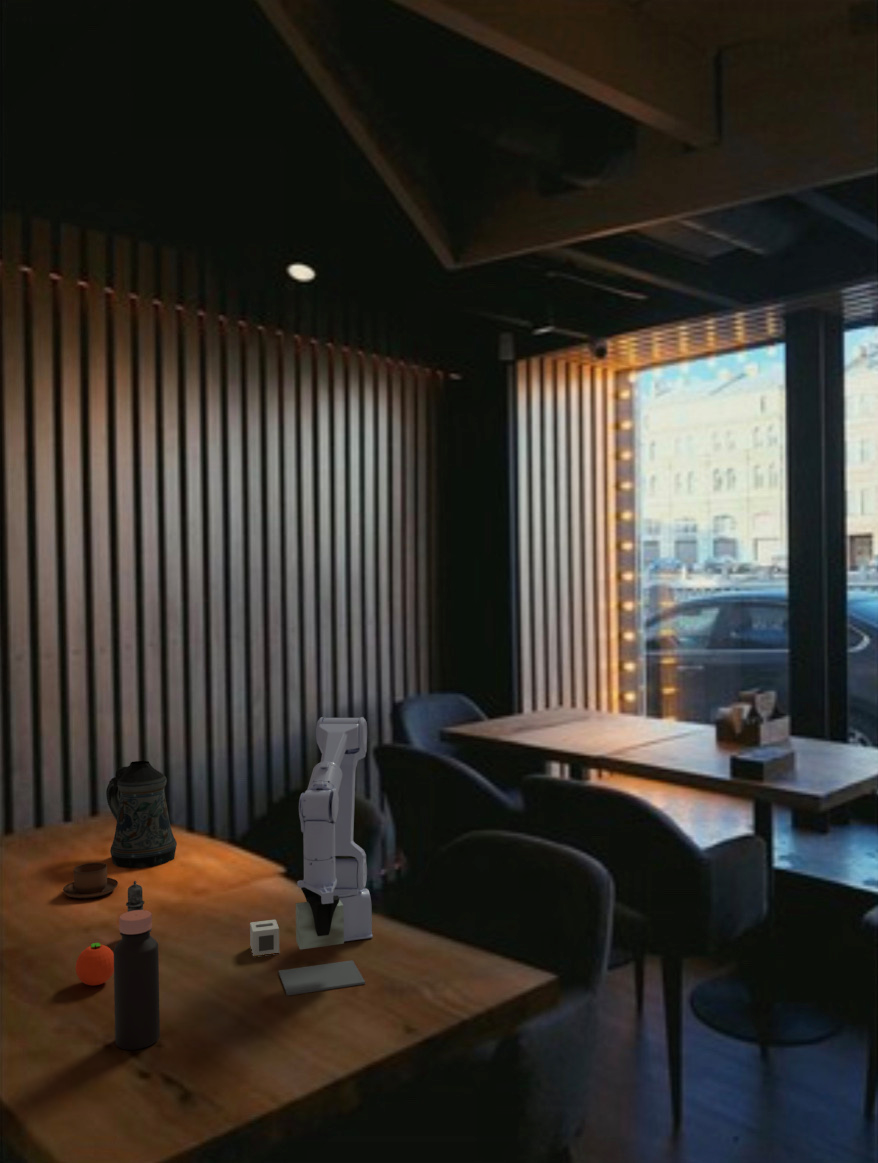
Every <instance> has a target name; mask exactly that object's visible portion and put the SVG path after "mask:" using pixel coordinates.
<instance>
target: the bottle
mask: <svg viewBox="0 0 878 1163" xmlns="http://www.w3.org/2000/svg"><path fill="white" fill-rule="evenodd" d="M118 917H119V919H118V920H119V922H118V925H119V934H120V937H121V939H120V941H119V942H118V943H117V944H116V945H115V947H114V949H113V953H114V973H113V989H114V991H113V992H114V994H113V995H114V1043H115V1044H116V1046H117V1047H118V1048H120V1049H123V1050H126V1051H135V1050H141V1049H145V1048H148V1047H150V1046H152V1045H154V1044H155V1043H157V1041H158V1040H159V1038H160V1032H161V1030H160V1026H161V1025H160V1021H161V1020H160V1016H161V1015H160V967H159V966H160V965H159V964H160V962H159V960H160V959H159V955H160V954H159V943H158V941H157V940H156V939H155V938H154V937H153V936H152V935H151V932H152V927H153V913H152V912H151V911H149V910H146V909H145V910H144V909H143V910H134V911H129V912H128V911H126V912H124V913H122V914H121V915H120V916H118Z"/></svg>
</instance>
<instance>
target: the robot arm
mask: <svg viewBox="0 0 878 1163" xmlns="http://www.w3.org/2000/svg"><path fill="white" fill-rule="evenodd" d="M315 727H316V729H315V731H316V732H315V738H316V744H317V745H318V749H319V750H320V753H321V758H320V762H319V763H316V764H315V765H314V767H313V769H312V772H311V776H310V779H309V783H308V786H307V789H306V790H305V791H304V792H302V793H301V794H300V796H299V800H298V815H299V816H298V817H299V820H300V831H301V833H302V834H303V839H302V842H303V879H302V880H298V881H296V883H297V887H298V888H299V889H300V890H301V892H302V893H303V895H304V898H305V900H306V901H305V902H309V904H310V907H311V909H312V913H313V917H314V923H315V929H316V933H317V936H325V935H329V932H330V928H331V923H332V918H333V914H334V911H335V909H336V906H337V905H338V903H339V899H340V901H341V902H342V904H343V914H344V942H350V941H351V942H352V941H357V940H366V939H372V938H373V933H372V932H373V929H372V928H373V926H372V925H373V921H372V916H373V915H372V899H371V898H372V897H371V894H370V891H369V889H368V888H366V884H367V878H368V877H367V876H368V866H367V854H366V852H365V849H363V848H362V847H361V846H360V845H359V844H357V843H356V842H355V841H354V830H355V829H354V826H355V825H354V823H355V797H356V771H357V770H356V769H357V765H358V762H359V761H360V760H362V759H364V758H366V754H367V751H368V750H367V748H368V724H367V721H366V718H364V716H361V717H324V716H322V717H319V719H318V720H317V721H316V726H315ZM337 857H353V858H337Z"/></svg>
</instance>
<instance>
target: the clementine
mask: <svg viewBox="0 0 878 1163" xmlns="http://www.w3.org/2000/svg"><path fill="white" fill-rule="evenodd" d="M75 974H76V976H77V977H78V980H80V981H81V982H82V984H85V985H86V986H87V985H88V986H92V987H95V986H99V985H103V984H104V983H106V982H107V981H108V980H110V979H111V977H112V976H113V975H114V950H112V949H111V948H110V947H109V946H107V945H105V944H101V943H100V942H95V943H91V945H90V946H87V947H86V948H85V949H83V950H82V951H81V953H80V954H79V955H78V957H77V959H76V962H75Z"/></svg>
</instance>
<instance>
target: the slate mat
mask: <svg viewBox="0 0 878 1163" xmlns="http://www.w3.org/2000/svg"><path fill="white" fill-rule="evenodd" d="M278 975H279V978H280V980H281V983H282V985H283V988H284V991H285V993H286V996H293V995H300V994H308V993H312V992H320V991H329V990H335V989H339V988H347V987H354V986H355V987H356V986H361V985H365V984H366V981H365V979H364V978H363V975H362V973H361V972H360V970H359V968H358V967H357V965H356V963H355V962H354V960H344V961H338V962H331V963H330V962H329V963H325V964H317V965H310V966H303V967H301V966H300V967H296V968H287V969H280V970H278Z"/></svg>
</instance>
